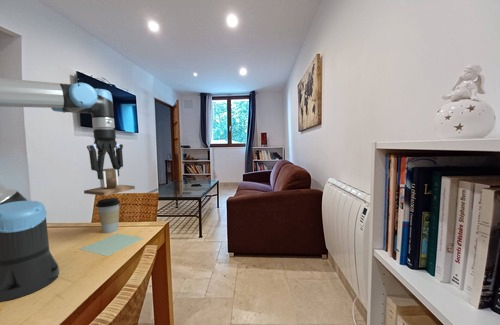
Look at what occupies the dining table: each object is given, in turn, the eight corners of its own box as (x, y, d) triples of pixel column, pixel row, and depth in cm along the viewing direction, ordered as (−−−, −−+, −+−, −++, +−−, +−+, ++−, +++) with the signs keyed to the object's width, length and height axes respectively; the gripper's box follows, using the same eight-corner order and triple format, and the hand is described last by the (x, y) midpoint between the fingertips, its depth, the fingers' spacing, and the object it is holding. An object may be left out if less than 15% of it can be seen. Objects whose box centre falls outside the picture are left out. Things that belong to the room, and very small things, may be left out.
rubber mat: (107, 257, 80) (107, 256, 80) (78, 250, 86) (78, 249, 86) (144, 239, 94) (144, 238, 94) (117, 234, 100) (117, 233, 100)
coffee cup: (114, 235, 99) (111, 202, 98) (93, 236, 99) (90, 202, 98) (126, 227, 108) (124, 197, 107) (107, 228, 108) (104, 197, 107)
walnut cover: (104, 195, 85) (101, 171, 84) (84, 193, 90) (81, 170, 89) (134, 188, 96) (133, 167, 95) (115, 186, 102) (113, 166, 101)
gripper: (86, 127, 81) (93, 191, 84) (130, 129, 97) (134, 182, 99) (74, 129, 84) (81, 189, 87) (118, 130, 100) (123, 181, 102)
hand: (109, 185), depth 93 cm, fingers closed on walnut cover, 4 cm apart
